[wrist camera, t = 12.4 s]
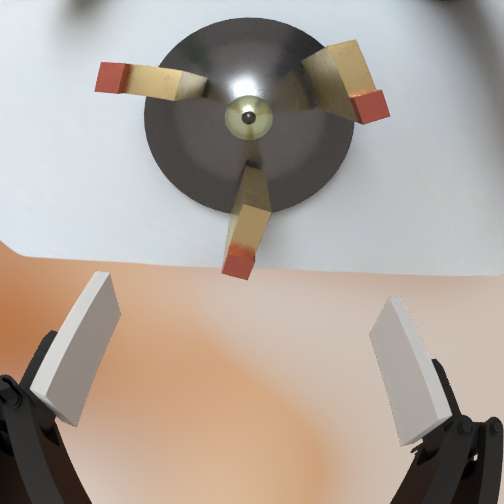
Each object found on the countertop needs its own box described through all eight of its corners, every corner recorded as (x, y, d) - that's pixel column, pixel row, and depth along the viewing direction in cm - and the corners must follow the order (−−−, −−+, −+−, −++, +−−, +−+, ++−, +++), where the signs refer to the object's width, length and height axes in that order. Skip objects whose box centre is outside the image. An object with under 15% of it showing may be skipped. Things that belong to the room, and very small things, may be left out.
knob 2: (246, 165, 24) (242, 209, 16) (265, 171, 25) (272, 218, 16) (231, 211, 27) (221, 273, 18) (249, 216, 27) (247, 280, 19)
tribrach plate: (300, -2, 17) (305, -11, 15) (370, 168, 26) (381, 176, 24) (121, 81, 21) (107, 82, 19) (206, 232, 31) (202, 246, 28)
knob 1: (207, 77, 20) (178, 69, 12) (201, 97, 21) (170, 101, 13) (155, 69, 19) (101, 62, 11) (150, 87, 20) (94, 91, 12)
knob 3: (300, 61, 19) (331, 44, 11) (319, 55, 19) (360, 37, 10) (321, 110, 21) (363, 124, 13) (340, 104, 21) (390, 116, 13)
